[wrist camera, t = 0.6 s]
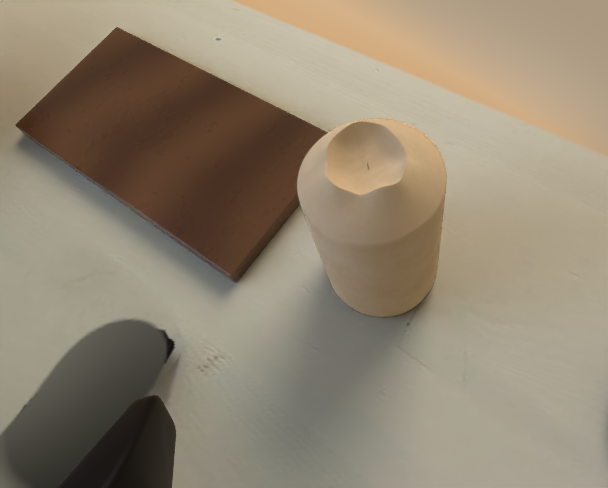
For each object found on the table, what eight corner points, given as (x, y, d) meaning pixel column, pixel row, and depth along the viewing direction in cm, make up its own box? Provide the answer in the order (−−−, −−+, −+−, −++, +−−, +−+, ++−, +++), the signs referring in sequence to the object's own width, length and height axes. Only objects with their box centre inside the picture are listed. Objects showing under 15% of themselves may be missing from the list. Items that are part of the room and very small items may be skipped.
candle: (460, 278, 26) (485, 164, 17) (368, 340, 25) (344, 256, 17) (393, 201, 28) (385, 68, 20) (309, 256, 28) (261, 146, 19)
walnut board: (343, 149, 30) (341, 138, 30) (235, 283, 28) (230, 276, 27) (123, 37, 38) (116, 26, 38) (24, 134, 36) (14, 124, 35)
